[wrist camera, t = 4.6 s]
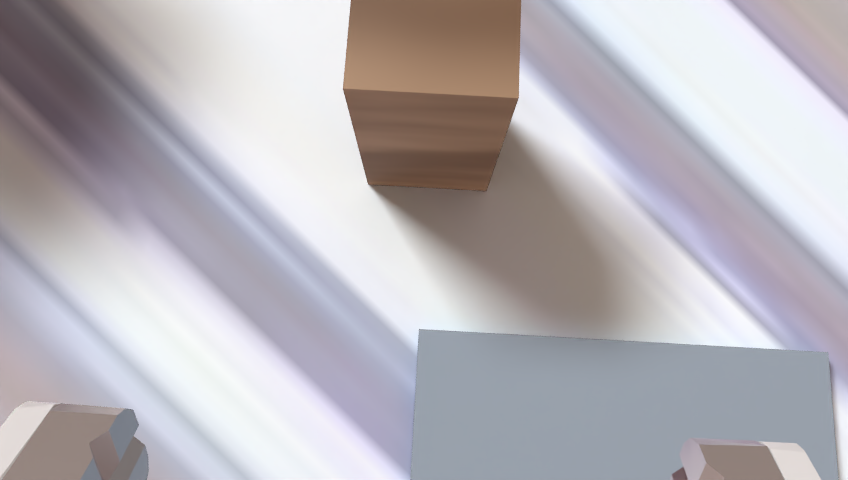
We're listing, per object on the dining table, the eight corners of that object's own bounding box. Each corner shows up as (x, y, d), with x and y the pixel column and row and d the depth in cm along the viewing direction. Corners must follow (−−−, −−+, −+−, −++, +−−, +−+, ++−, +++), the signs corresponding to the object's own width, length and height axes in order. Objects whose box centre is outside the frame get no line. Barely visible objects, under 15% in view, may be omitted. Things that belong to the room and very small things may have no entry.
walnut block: (486, 190, 27) (518, 98, 18) (368, 184, 27) (343, 88, 18) (489, 96, 28) (522, -36, 19) (375, 90, 28) (354, -45, 19)
